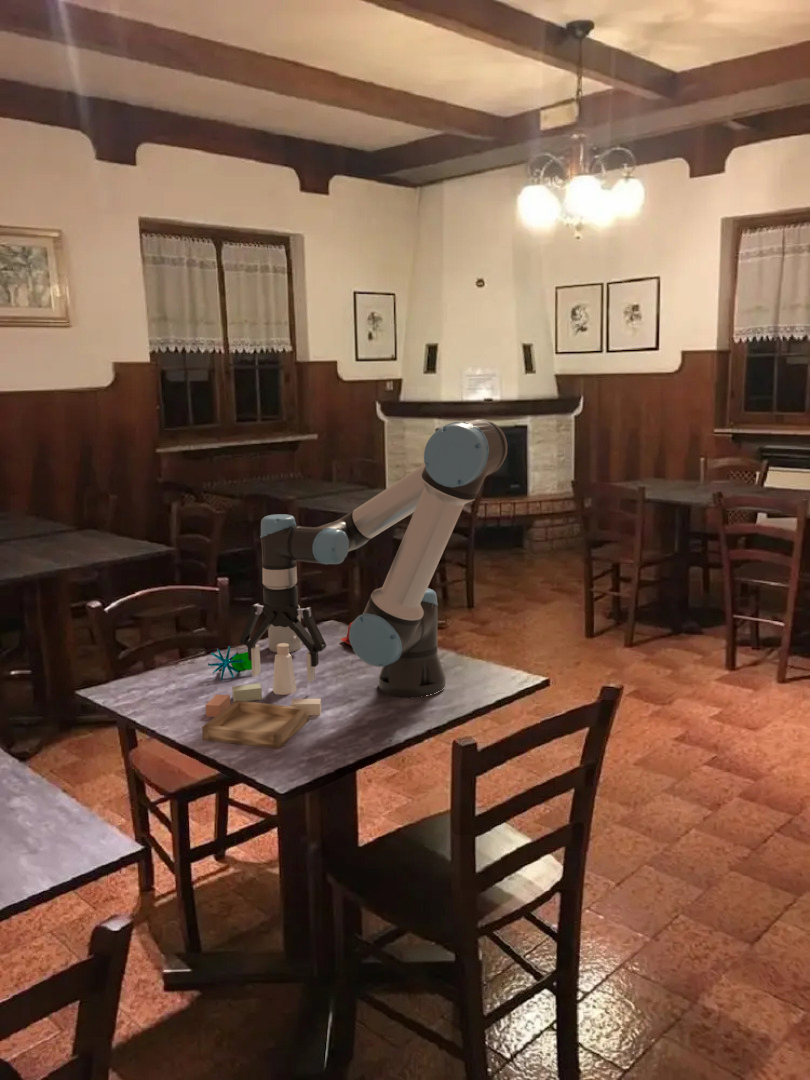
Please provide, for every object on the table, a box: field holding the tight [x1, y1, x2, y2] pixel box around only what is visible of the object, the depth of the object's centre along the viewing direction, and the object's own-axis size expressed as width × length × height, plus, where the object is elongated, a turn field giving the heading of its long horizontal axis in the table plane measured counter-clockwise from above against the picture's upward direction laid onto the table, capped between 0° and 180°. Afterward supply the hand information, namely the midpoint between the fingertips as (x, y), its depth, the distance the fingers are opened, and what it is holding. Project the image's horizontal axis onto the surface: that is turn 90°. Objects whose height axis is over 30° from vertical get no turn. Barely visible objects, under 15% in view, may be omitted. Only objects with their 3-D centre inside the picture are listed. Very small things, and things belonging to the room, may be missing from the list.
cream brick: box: [290, 698, 322, 716], centre depth 190 cm, size 6×3×3 cm, turn 91°
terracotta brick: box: [205, 694, 231, 718], centre depth 192 cm, size 6×3×3 cm, turn 170°
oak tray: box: [201, 701, 310, 750], centre depth 182 cm, size 16×14×3 cm
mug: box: [267, 604, 303, 653], centre depth 232 cm, size 12×8×11 cm
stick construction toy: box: [207, 645, 252, 681], centre depth 215 cm, size 12×7×8 cm
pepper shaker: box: [272, 643, 297, 696], centre depth 203 cm, size 5×5×11 cm
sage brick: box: [231, 682, 263, 703], centre depth 199 cm, size 6×3×3 cm, turn 107°
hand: (283, 677), depth 203 cm, fingers open, 13 cm apart
